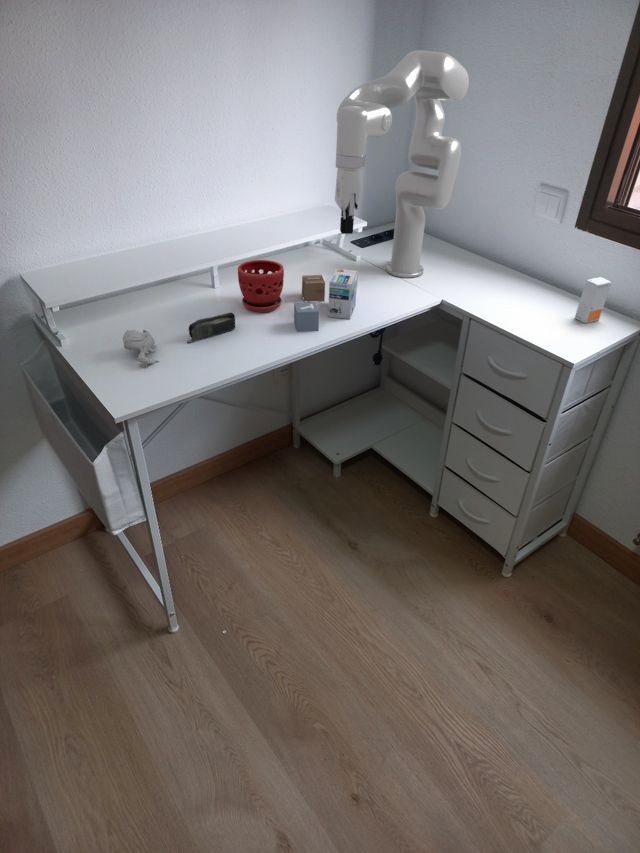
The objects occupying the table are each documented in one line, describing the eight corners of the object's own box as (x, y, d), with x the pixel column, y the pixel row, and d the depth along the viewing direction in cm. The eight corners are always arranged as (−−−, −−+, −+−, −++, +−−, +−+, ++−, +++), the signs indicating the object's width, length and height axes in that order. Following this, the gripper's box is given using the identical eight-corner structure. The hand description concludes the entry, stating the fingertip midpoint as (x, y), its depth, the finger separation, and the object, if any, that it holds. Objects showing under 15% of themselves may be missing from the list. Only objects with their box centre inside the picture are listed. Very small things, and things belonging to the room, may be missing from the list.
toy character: (122, 369, 152) (119, 338, 159) (157, 376, 156) (152, 345, 164) (129, 351, 148) (125, 320, 156) (164, 358, 153) (159, 328, 160)
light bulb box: (350, 320, 178) (352, 284, 172) (327, 317, 179) (328, 281, 173) (356, 304, 187) (358, 270, 180) (334, 302, 188) (335, 267, 181)
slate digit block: (294, 322, 176) (294, 302, 172) (315, 321, 177) (315, 301, 173) (296, 332, 171) (297, 311, 167) (318, 331, 172) (319, 310, 168)
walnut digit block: (301, 294, 192) (302, 274, 188) (321, 293, 193) (321, 274, 189) (304, 302, 187) (305, 282, 183) (324, 301, 188) (325, 282, 184)
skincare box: (585, 324, 181) (597, 285, 174) (574, 318, 184) (585, 279, 177) (600, 320, 183) (612, 281, 176) (588, 314, 186) (600, 276, 179)
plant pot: (293, 305, 184) (293, 266, 177) (260, 319, 177) (259, 279, 170) (263, 292, 192) (262, 254, 185) (230, 304, 184) (227, 265, 177)
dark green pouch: (230, 310, 170) (182, 323, 162) (237, 313, 168) (188, 327, 160) (231, 326, 173) (183, 340, 165) (237, 330, 171) (189, 345, 163)
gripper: (330, 154, 164) (327, 224, 175) (341, 168, 152) (338, 242, 163) (358, 154, 165) (354, 223, 176) (371, 168, 153) (366, 241, 164)
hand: (346, 232), depth 169 cm, fingers closed
